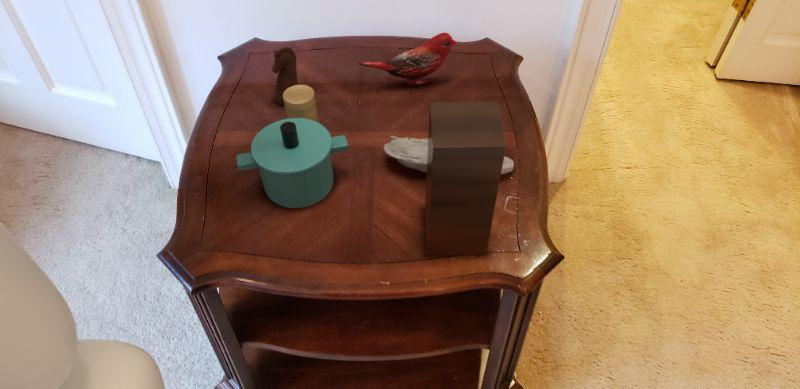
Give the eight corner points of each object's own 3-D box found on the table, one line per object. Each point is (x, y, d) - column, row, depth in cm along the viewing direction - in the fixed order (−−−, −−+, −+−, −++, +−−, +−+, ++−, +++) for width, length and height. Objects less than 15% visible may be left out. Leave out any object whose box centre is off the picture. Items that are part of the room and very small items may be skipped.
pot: (357, 196, 83) (353, 160, 77) (250, 218, 80) (238, 182, 74) (343, 150, 89) (339, 114, 84) (244, 169, 87) (233, 133, 81)
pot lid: (339, 168, 77) (336, 145, 74) (256, 185, 75) (249, 162, 72) (324, 117, 84) (321, 94, 81) (248, 131, 82) (242, 108, 79)
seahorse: (504, 132, 90) (382, 124, 87) (526, 161, 80) (390, 153, 77) (498, 160, 93) (379, 154, 90) (519, 192, 83) (386, 186, 80)
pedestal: (486, 254, 75) (506, 146, 60) (427, 255, 75) (433, 147, 60) (479, 210, 81) (496, 100, 66) (425, 210, 81) (429, 101, 66)
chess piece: (270, 98, 98) (259, 50, 91) (292, 85, 101) (283, 37, 94) (287, 109, 96) (278, 60, 89) (309, 96, 99) (301, 47, 91)
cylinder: (319, 147, 90) (312, 103, 83) (289, 148, 90) (280, 104, 83) (322, 128, 93) (315, 84, 86) (293, 128, 93) (284, 84, 86)
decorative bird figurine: (456, 84, 101) (460, 36, 94) (360, 97, 99) (357, 48, 91) (452, 75, 103) (455, 27, 95) (358, 87, 100) (354, 39, 93)
